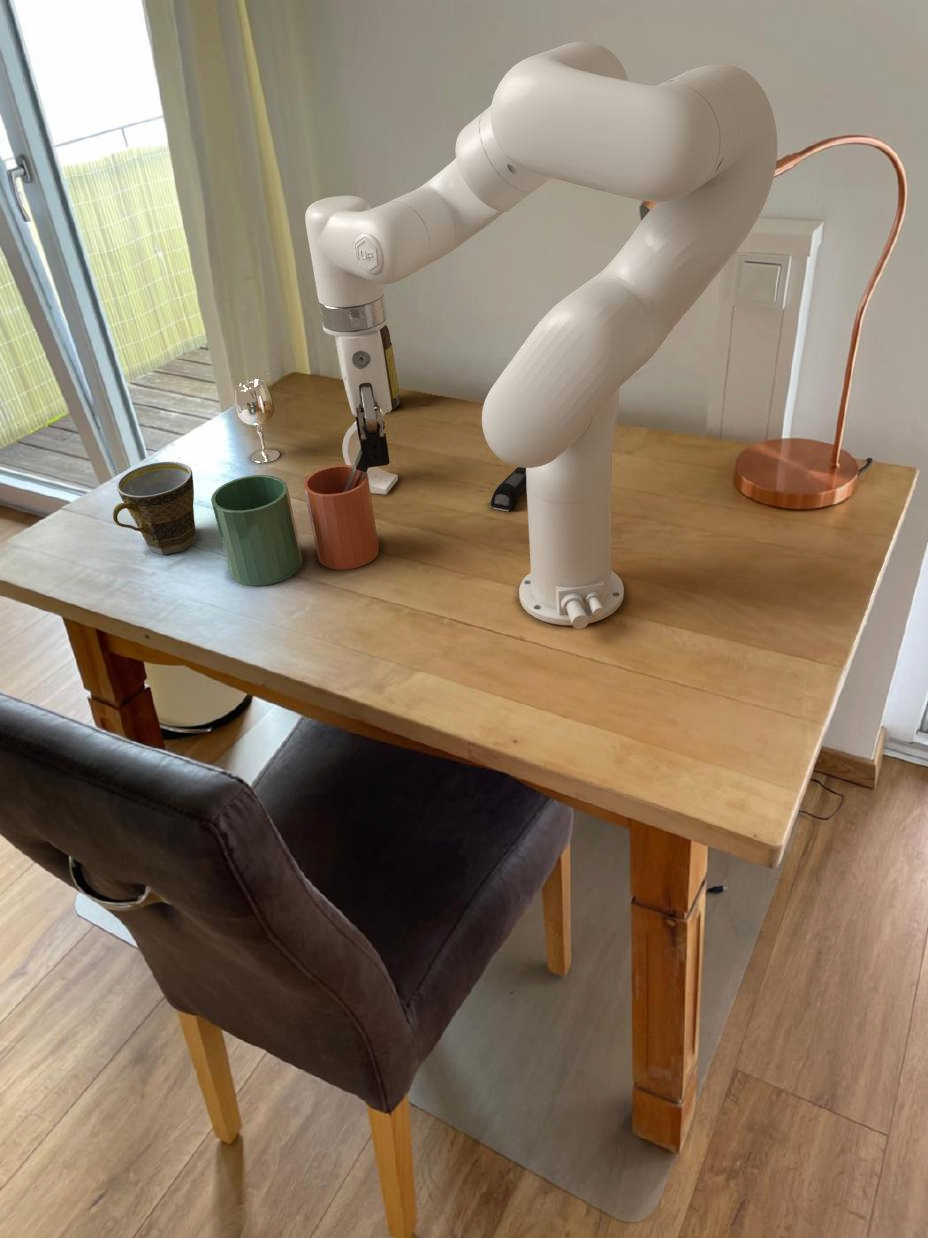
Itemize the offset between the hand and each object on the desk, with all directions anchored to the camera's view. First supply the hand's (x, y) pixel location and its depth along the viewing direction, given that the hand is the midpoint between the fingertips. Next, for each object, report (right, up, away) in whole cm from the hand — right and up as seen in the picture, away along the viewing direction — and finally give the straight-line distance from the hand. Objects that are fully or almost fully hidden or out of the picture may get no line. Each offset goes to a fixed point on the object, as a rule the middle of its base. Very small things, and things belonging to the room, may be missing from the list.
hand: (373, 450), depth 126 cm
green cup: (-15, -14, +7) cm, 22 cm away
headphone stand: (-2, -1, +23) cm, 23 cm away
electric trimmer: (+20, -2, +19) cm, 27 cm away
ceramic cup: (-30, -11, +13) cm, 35 cm away
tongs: (-2, -12, +8) cm, 14 cm away
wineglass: (-20, +5, +34) cm, 40 cm away
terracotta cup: (-4, -12, +8) cm, 15 cm away
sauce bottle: (-3, +15, +46) cm, 48 cm away
